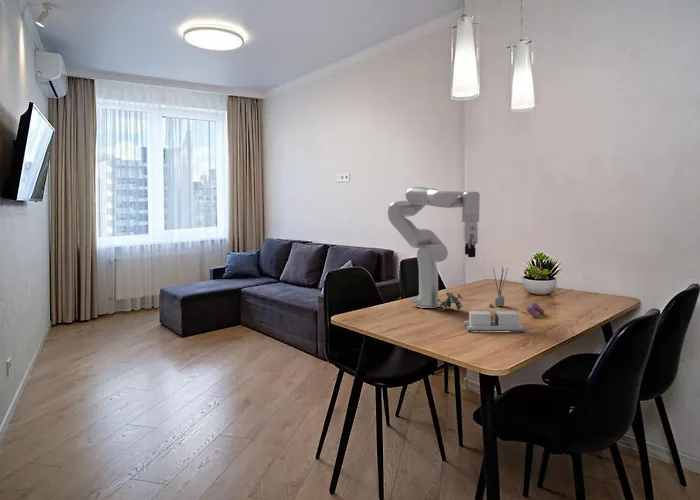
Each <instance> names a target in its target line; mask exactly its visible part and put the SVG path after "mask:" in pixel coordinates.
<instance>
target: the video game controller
mask: <svg viewBox="0 0 700 500" xmlns="http://www.w3.org/2000/svg"><path fill="white" fill-rule="evenodd" d="M526 311H527V312H528V313H529V314H530V315H531V317H534V318H535V319H538V318H540V315H544V314H545V310H544V309H543V308H542V307H541V306H540V305H539V304H538V303H536V302H530V303H528V304H527V306H526ZM539 314H540V315H539Z"/></svg>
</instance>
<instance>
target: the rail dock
mask: <svg viewBox="0 0 700 500" xmlns="http://www.w3.org/2000/svg"><path fill="white" fill-rule="evenodd" d="M519 319H520V315H519V313H518V311H515V310H513V311H512V310H510V311H509V310H506V311H505V310H496V311H495V313H494V320H492V326H469V320H464V326H465V325H466V327H467V329H468V331H510V332H525V330H524V329H525V327H524V325H522V324H521V323H520V321H519ZM466 327H465V328H466ZM467 329H466V330H467ZM468 331H467V332H468Z"/></svg>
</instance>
